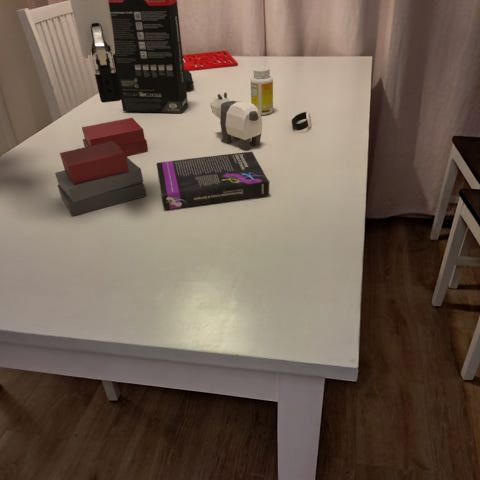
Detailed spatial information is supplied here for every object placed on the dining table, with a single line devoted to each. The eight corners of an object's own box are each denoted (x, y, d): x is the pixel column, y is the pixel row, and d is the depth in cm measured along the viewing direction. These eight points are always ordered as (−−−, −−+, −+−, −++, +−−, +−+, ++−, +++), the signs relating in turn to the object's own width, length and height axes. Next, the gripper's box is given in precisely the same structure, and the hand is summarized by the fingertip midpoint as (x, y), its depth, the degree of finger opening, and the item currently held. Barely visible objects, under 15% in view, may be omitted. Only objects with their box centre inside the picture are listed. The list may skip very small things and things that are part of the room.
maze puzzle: (237, 65, 158) (237, 62, 157) (179, 71, 155) (179, 69, 155) (226, 52, 173) (226, 50, 172) (173, 58, 170) (172, 56, 169)
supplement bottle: (275, 109, 122) (275, 66, 115) (269, 116, 118) (269, 72, 111) (255, 108, 123) (254, 65, 116) (248, 115, 119) (247, 71, 112)
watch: (309, 133, 108) (310, 116, 105) (289, 132, 108) (289, 116, 106) (312, 121, 113) (313, 106, 111) (293, 121, 114) (293, 105, 112)
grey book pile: (72, 216, 82) (63, 190, 79) (60, 196, 89) (52, 171, 86) (147, 196, 87) (142, 170, 84) (131, 178, 94) (126, 153, 90)
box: (163, 213, 83) (270, 197, 85) (160, 195, 81) (269, 178, 82) (159, 179, 93) (254, 165, 95) (156, 162, 91) (253, 148, 93)
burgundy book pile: (96, 163, 100) (90, 140, 97) (85, 149, 106) (79, 127, 103) (149, 151, 104) (145, 128, 101) (135, 138, 110) (131, 116, 107)
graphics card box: (190, 106, 127) (176, -17, 109) (183, 114, 122) (168, -13, 104) (131, 105, 130) (108, -14, 112) (122, 113, 125) (96, -10, 107)
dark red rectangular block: (74, 185, 81) (68, 166, 78) (65, 171, 85) (59, 152, 83) (129, 171, 84) (125, 152, 82) (117, 158, 89) (113, 140, 86)
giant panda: (265, 145, 103) (265, 99, 97) (247, 152, 101) (245, 106, 94) (223, 130, 112) (220, 87, 106) (205, 136, 109) (201, 92, 103)
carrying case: (158, 81, 147) (158, 94, 136) (156, 70, 145) (156, 83, 134) (191, 78, 148) (194, 91, 137) (190, 67, 146) (193, 80, 135)
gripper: (56, -40, 71) (85, 81, 82) (53, -31, 58) (87, 111, 70) (106, -44, 72) (128, 77, 84) (113, -35, 60) (137, 105, 71)
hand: (109, 92), depth 77 cm, fingers open, 9 cm apart
